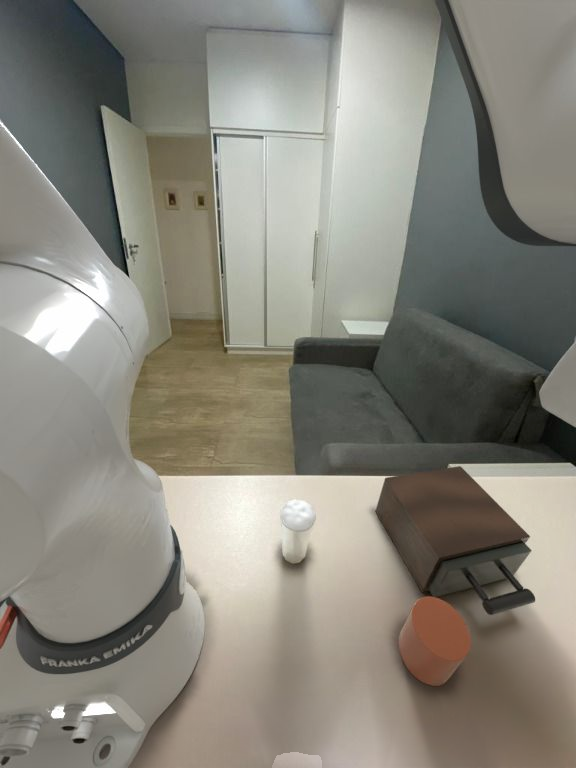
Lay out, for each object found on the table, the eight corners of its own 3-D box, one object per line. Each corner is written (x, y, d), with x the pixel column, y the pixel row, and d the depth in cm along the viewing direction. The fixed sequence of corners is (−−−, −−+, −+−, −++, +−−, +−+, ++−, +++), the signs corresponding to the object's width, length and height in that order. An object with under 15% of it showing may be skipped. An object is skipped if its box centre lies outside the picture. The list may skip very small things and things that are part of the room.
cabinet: (506, 570, 43) (530, 536, 39) (421, 592, 40) (439, 557, 36) (446, 498, 53) (460, 465, 50) (375, 511, 50) (385, 477, 47)
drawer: (542, 611, 38) (565, 585, 35) (456, 637, 35) (475, 611, 32) (453, 506, 51) (465, 481, 48) (386, 519, 48) (395, 493, 45)
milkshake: (266, 556, 43) (268, 507, 38) (292, 531, 46) (297, 484, 41) (290, 580, 40) (296, 531, 35) (316, 552, 44) (324, 504, 39)
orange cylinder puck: (463, 677, 33) (484, 651, 30) (417, 693, 31) (434, 669, 28) (430, 617, 37) (445, 590, 34) (388, 629, 36) (401, 603, 33)
